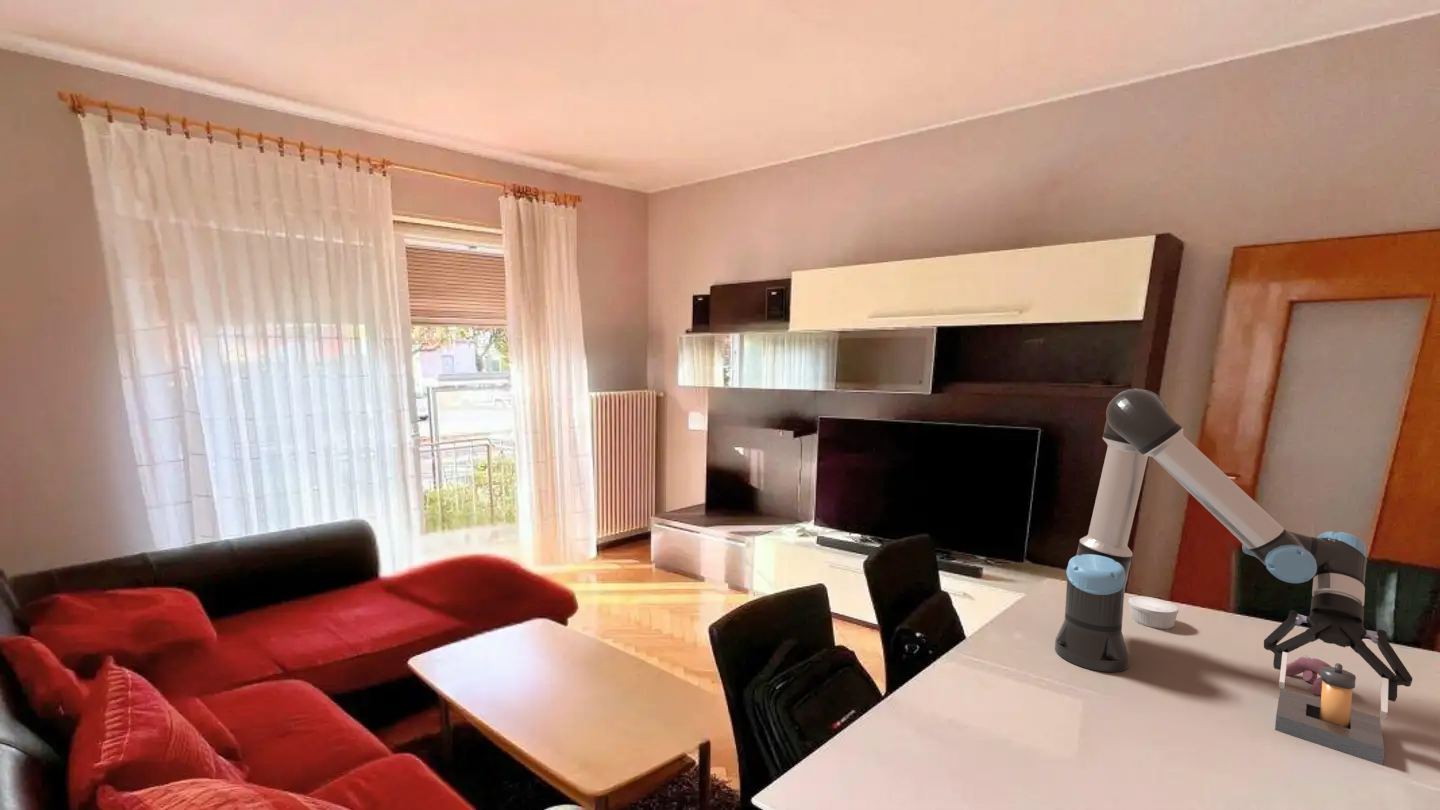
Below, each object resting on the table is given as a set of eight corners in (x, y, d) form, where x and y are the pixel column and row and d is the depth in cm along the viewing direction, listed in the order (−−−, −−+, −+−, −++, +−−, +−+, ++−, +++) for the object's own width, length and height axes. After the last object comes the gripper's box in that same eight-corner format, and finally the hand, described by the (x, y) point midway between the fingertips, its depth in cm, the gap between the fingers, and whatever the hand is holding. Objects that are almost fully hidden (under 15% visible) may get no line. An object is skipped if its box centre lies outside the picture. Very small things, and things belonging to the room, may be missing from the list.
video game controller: (1333, 704, 128) (1353, 678, 127) (1311, 693, 129) (1331, 666, 128) (1297, 681, 138) (1315, 656, 137) (1278, 670, 138) (1295, 645, 137)
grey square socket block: (1275, 729, 116) (1276, 714, 116) (1279, 702, 126) (1280, 688, 126) (1382, 765, 106) (1384, 748, 106) (1378, 732, 116) (1379, 717, 116)
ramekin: (1133, 626, 162) (1134, 607, 162) (1122, 611, 172) (1124, 593, 172) (1183, 634, 158) (1184, 614, 158) (1169, 618, 168) (1171, 599, 168)
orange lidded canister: (1316, 732, 115) (1321, 663, 114) (1316, 723, 118) (1321, 655, 118) (1351, 743, 112) (1357, 672, 111) (1350, 733, 115) (1356, 663, 114)
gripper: (1427, 630, 117) (1428, 736, 107) (1256, 593, 134) (1244, 682, 125) (1433, 611, 113) (1435, 720, 103) (1256, 576, 130) (1243, 666, 121)
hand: (1330, 699), depth 114 cm, fingers open, 13 cm apart
